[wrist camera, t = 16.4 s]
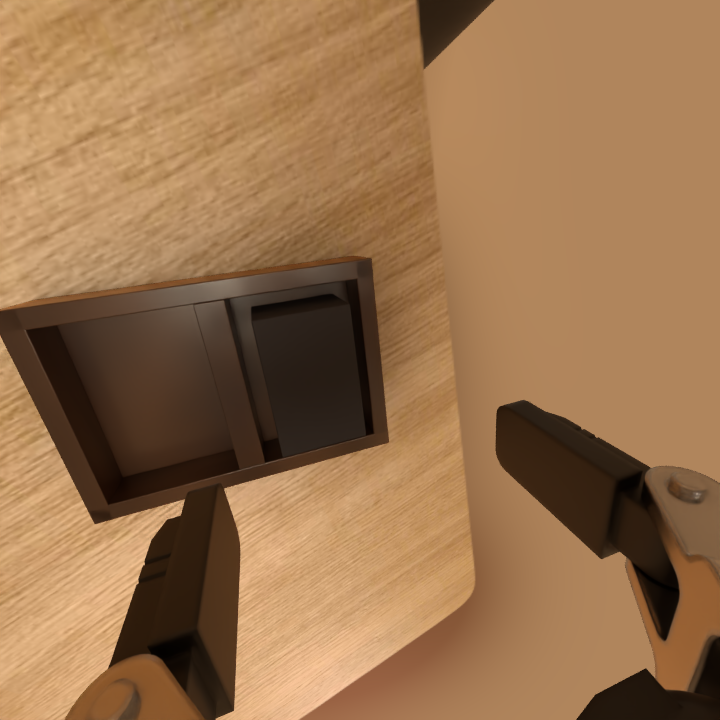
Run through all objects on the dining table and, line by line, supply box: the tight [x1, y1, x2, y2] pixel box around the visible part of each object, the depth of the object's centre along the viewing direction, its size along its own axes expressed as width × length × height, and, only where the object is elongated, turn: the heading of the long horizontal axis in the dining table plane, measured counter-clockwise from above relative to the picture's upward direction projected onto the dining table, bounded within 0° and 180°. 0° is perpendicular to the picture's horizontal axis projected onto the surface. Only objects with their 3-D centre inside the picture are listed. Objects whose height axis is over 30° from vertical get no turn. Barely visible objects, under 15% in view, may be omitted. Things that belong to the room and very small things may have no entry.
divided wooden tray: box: [0, 256, 389, 524], centre depth 21 cm, size 18×12×4 cm
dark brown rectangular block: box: [251, 294, 366, 457], centre depth 21 cm, size 5×8×4 cm, turn 7°
